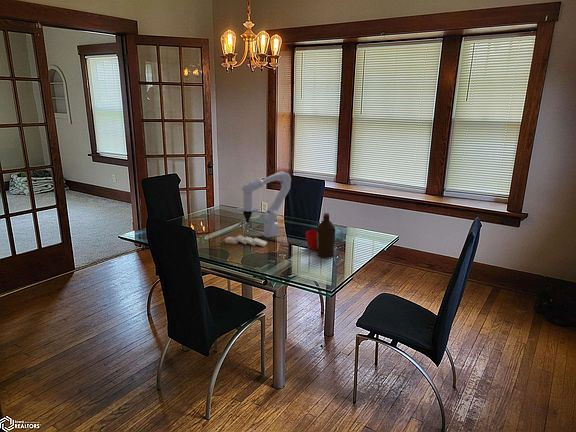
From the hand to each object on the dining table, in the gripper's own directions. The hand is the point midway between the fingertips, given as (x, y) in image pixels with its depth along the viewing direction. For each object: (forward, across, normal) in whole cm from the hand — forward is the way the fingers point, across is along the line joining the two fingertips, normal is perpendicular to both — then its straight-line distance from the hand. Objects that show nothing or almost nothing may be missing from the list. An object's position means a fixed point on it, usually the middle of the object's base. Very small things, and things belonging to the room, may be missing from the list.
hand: (247, 222), depth 266 cm
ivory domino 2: (+10, -3, +12) cm, 15 cm away
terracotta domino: (+11, +3, +11) cm, 16 cm away
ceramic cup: (+10, -46, +12) cm, 49 cm away
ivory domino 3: (+10, -9, +13) cm, 18 cm away
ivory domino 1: (+9, +4, +11) cm, 15 cm away
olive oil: (+10, -53, +24) cm, 59 cm away
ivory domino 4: (+10, -15, +13) cm, 22 cm away
